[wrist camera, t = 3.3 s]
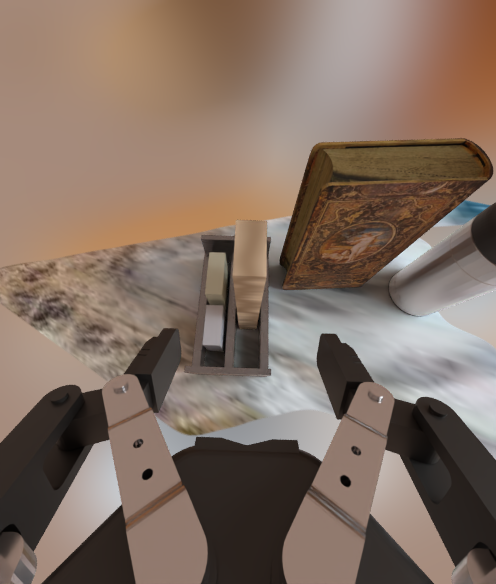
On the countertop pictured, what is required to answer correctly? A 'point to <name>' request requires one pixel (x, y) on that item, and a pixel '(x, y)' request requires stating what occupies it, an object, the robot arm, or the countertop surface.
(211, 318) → the pale grey block
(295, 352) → the countertop surface
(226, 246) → the rack
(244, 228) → the birch board
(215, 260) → the sage offcut
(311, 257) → the book
